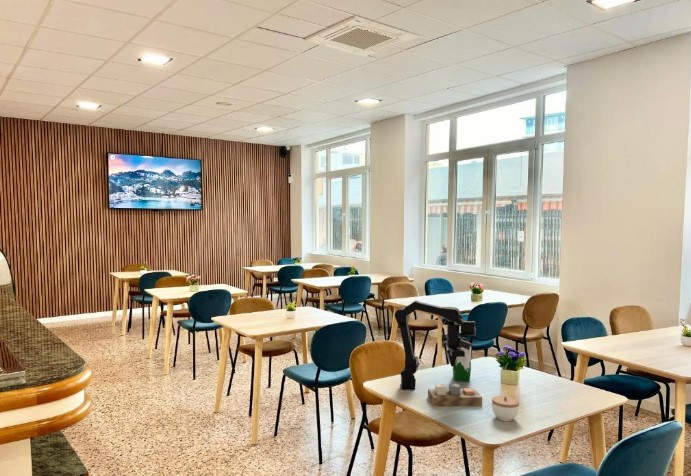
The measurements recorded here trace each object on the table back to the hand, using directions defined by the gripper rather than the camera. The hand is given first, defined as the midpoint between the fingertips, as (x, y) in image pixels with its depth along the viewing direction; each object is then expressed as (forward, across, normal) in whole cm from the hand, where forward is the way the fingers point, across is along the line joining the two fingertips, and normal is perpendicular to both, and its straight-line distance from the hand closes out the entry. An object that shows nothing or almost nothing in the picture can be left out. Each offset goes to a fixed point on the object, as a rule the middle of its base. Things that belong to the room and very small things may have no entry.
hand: (452, 366), depth 233 cm
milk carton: (+13, +20, -11) cm, 26 cm away
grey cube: (+9, -11, +2) cm, 15 cm away
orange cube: (+12, -11, -4) cm, 17 cm away
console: (+13, -11, +2) cm, 17 cm away
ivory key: (+9, -11, +8) cm, 17 cm away
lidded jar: (+13, -30, -14) cm, 36 cm away
